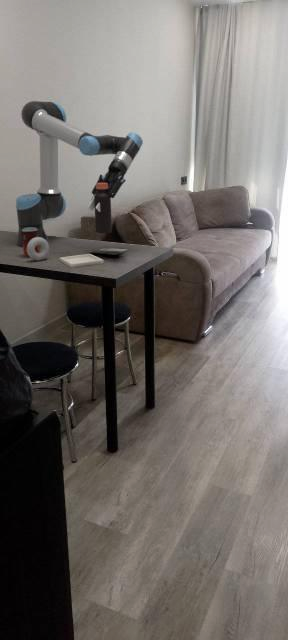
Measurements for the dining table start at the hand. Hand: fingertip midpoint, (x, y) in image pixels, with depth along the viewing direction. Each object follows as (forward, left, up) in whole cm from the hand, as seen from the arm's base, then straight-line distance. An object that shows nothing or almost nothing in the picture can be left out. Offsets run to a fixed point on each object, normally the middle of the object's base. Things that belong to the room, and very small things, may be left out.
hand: (94, 209), depth 207 cm
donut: (-11, -22, -21) cm, 32 cm away
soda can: (-21, -22, -21) cm, 37 cm away
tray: (+2, -8, -21) cm, 22 cm away
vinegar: (0, +4, -10) cm, 11 cm away
